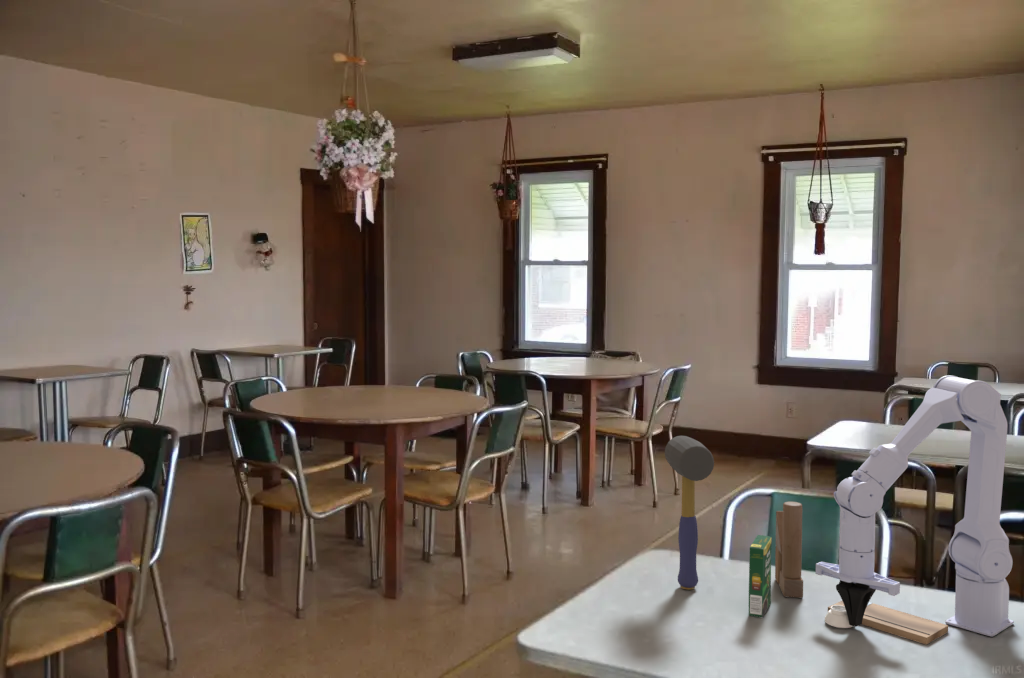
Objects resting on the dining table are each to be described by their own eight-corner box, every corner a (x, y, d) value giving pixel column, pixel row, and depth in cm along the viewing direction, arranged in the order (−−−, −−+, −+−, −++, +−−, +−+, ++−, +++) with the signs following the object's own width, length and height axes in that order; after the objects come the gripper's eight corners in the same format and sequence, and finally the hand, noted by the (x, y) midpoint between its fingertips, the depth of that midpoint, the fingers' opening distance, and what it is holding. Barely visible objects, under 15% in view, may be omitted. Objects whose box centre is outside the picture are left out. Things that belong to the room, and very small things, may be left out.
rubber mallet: (661, 578, 178) (662, 433, 176) (697, 577, 179) (698, 432, 177) (677, 600, 166) (678, 445, 164) (716, 598, 166) (717, 444, 164)
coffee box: (763, 619, 156) (764, 547, 155) (747, 616, 157) (748, 545, 157) (771, 604, 163) (772, 535, 162) (756, 601, 165) (757, 534, 164)
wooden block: (793, 579, 177) (794, 492, 176) (803, 598, 166) (804, 506, 165) (774, 579, 177) (775, 492, 176) (783, 598, 167) (784, 505, 165)
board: (850, 602, 164) (850, 596, 164) (948, 632, 150) (948, 624, 150) (827, 613, 159) (827, 606, 159) (926, 644, 145) (926, 637, 145)
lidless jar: (824, 617, 157) (825, 628, 152) (824, 601, 156) (825, 611, 152) (854, 620, 155) (855, 631, 150) (854, 604, 155) (856, 614, 150)
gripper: (806, 542, 153) (805, 617, 154) (885, 562, 142) (884, 643, 143) (828, 535, 158) (826, 608, 159) (906, 554, 147) (904, 632, 148)
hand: (855, 624), depth 151 cm, fingers closed
